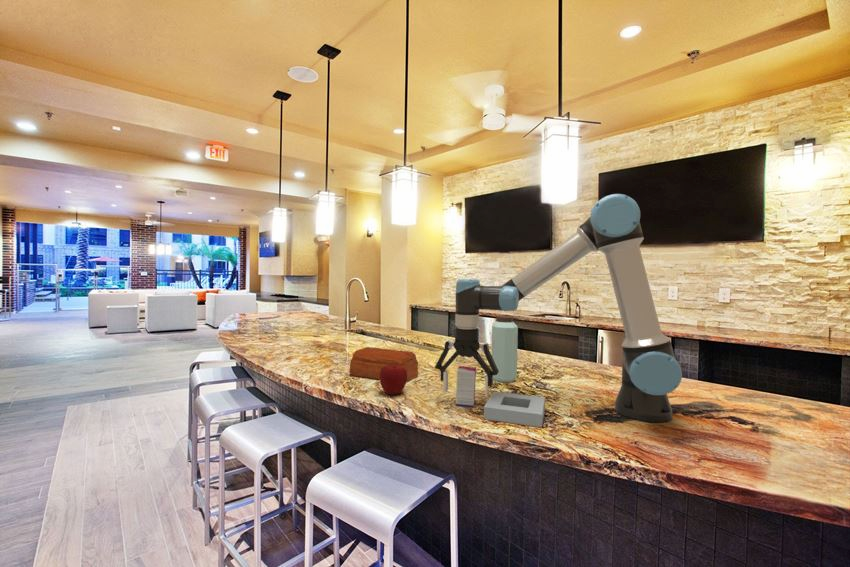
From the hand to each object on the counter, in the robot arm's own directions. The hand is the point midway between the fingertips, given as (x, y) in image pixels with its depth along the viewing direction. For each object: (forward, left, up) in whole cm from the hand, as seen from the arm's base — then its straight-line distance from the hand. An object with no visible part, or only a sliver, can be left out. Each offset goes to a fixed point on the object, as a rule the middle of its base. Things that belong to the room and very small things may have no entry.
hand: (465, 393), depth 124 cm
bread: (+40, -21, -4) cm, 45 cm away
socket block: (-16, +3, -3) cm, 17 cm away
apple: (+26, -1, -4) cm, 26 cm away
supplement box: (0, 0, -4) cm, 4 cm away
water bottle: (-7, -34, -3) cm, 35 cm away
